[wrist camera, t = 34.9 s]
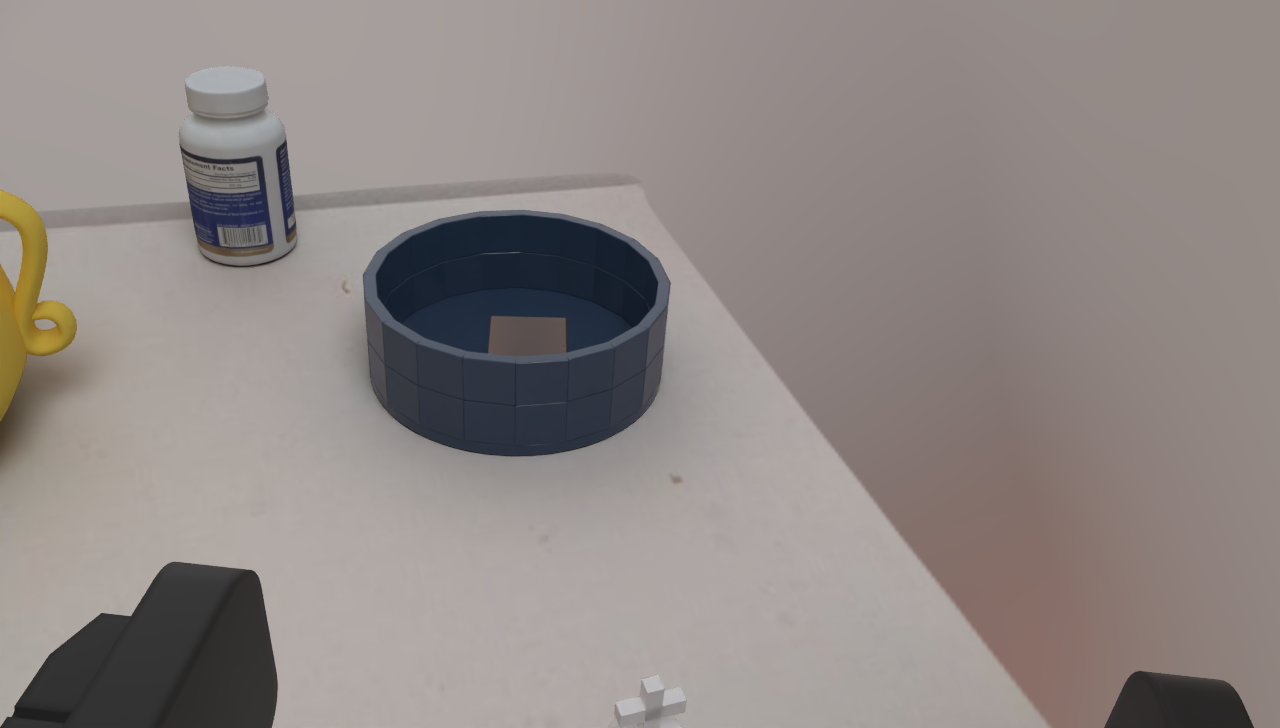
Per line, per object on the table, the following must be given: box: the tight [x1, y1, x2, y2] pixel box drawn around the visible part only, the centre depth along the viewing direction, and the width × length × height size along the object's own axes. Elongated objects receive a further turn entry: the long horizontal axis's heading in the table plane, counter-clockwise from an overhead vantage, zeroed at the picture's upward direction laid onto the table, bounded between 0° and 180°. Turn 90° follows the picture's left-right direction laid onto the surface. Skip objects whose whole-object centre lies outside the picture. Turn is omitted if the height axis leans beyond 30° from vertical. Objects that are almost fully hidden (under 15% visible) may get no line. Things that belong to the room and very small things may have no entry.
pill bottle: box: [179, 66, 297, 266], centre depth 60 cm, size 5×5×10 cm
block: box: [487, 316, 567, 356], centre depth 51 cm, size 4×4×4 cm
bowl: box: [363, 210, 671, 456], centre depth 54 cm, size 14×14×5 cm
